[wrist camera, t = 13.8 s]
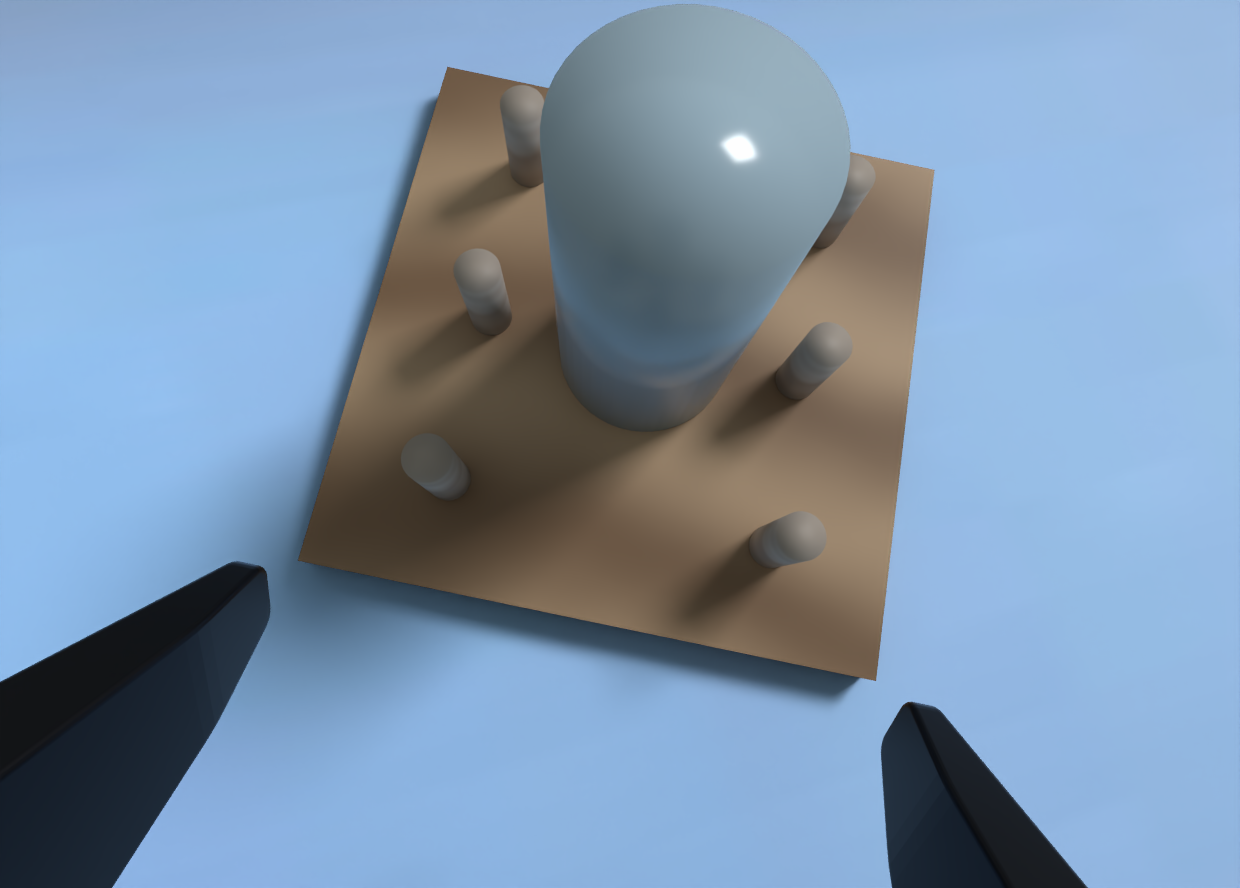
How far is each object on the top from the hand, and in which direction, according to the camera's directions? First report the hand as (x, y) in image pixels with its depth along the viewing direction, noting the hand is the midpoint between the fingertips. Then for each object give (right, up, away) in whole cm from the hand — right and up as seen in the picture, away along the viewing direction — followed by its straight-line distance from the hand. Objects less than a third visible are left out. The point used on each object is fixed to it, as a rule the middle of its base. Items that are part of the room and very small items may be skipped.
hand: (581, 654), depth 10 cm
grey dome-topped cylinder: (+1, +6, +11) cm, 13 cm away
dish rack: (+1, +6, +12) cm, 13 cm away
